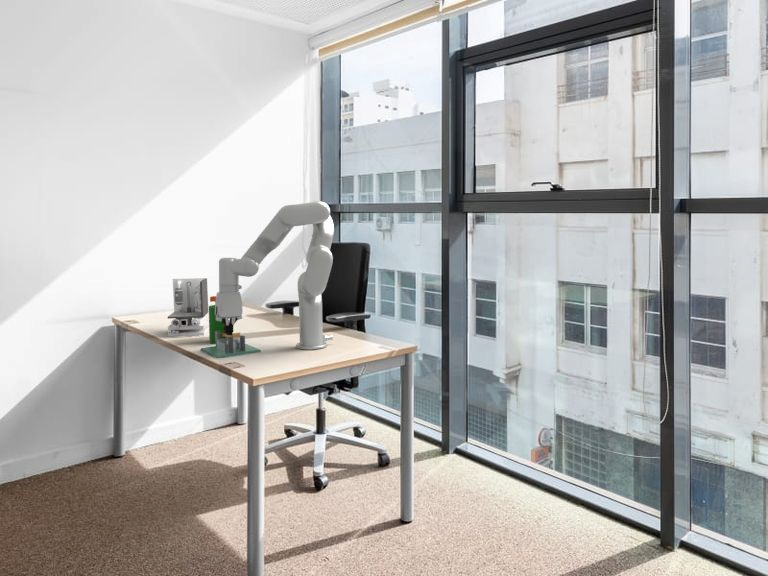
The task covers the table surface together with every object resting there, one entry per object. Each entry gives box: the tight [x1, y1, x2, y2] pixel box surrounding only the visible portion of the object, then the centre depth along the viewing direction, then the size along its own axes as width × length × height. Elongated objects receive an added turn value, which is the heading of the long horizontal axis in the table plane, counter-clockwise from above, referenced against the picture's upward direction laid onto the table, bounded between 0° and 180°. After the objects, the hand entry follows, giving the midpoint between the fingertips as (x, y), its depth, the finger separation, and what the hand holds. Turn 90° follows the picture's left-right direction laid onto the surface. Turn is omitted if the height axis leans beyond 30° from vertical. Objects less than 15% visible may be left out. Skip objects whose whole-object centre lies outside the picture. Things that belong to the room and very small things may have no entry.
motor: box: [208, 295, 230, 345], centre depth 264 cm, size 10×9×20 cm
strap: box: [220, 332, 241, 338], centre depth 245 cm, size 3×14×2 cm, turn 37°
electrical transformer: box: [167, 277, 209, 337], centre depth 282 cm, size 16×19×25 cm
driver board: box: [200, 334, 262, 359], centre depth 245 cm, size 18×18×7 cm
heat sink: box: [215, 331, 240, 352], centre depth 247 cm, size 8×12×6 cm, turn 36°
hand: (229, 334), depth 243 cm, fingers closed
